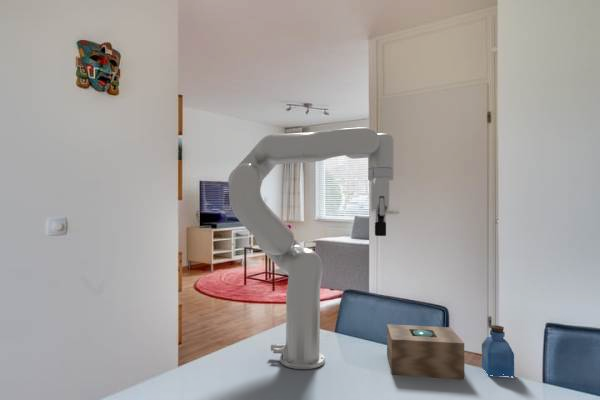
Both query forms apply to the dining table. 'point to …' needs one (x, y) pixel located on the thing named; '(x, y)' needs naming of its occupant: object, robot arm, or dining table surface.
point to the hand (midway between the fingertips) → (380, 235)
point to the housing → (425, 352)
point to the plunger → (422, 333)
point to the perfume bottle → (497, 354)
